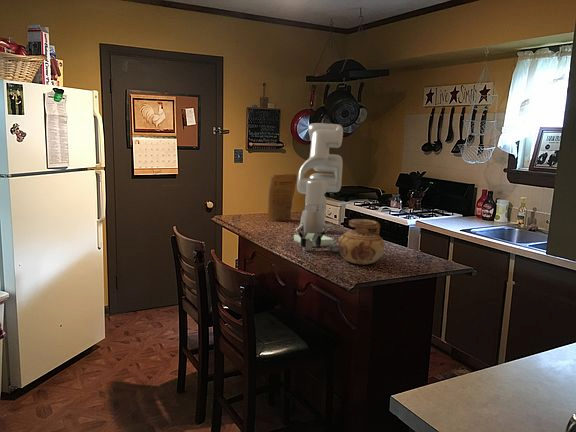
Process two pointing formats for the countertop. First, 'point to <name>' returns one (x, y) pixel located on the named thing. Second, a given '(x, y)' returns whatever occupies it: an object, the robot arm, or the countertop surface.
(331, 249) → the pot lid
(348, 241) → the clay pot
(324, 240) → the tray
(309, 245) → the lighter
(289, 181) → the pancake mix bag
